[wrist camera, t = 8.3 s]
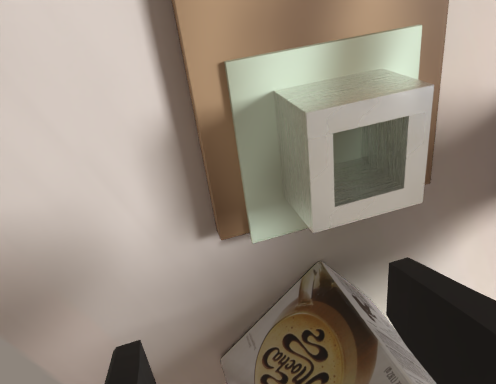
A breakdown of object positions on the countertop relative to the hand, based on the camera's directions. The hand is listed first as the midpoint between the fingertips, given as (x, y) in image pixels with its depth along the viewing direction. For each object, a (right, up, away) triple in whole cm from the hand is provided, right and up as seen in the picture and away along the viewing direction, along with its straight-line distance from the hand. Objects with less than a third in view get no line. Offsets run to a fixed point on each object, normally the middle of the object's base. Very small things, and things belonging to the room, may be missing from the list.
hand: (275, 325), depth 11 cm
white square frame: (+3, +6, +8) cm, 11 cm away
